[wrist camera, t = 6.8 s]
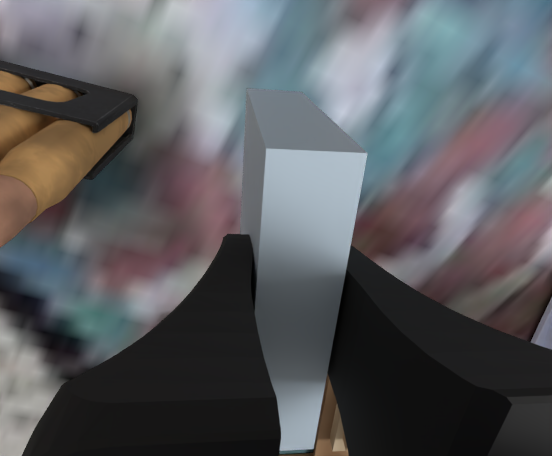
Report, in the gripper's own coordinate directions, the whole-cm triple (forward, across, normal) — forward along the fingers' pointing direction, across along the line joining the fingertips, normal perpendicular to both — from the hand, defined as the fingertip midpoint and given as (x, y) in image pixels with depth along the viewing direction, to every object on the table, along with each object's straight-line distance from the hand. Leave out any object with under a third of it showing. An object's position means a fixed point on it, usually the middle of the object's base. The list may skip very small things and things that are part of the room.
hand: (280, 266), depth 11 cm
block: (+4, 0, 0) cm, 4 cm away
